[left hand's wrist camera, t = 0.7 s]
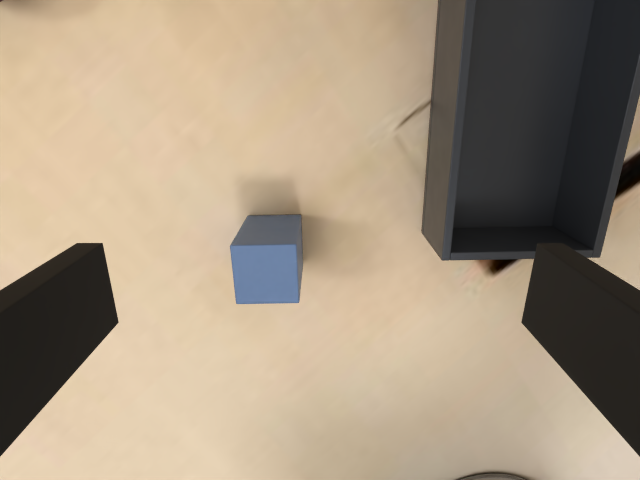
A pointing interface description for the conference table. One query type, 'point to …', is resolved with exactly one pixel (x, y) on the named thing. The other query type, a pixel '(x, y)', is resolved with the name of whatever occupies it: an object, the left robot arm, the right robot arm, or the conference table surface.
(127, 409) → the conference table surface
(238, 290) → the block
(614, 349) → the left robot arm
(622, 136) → the tray
